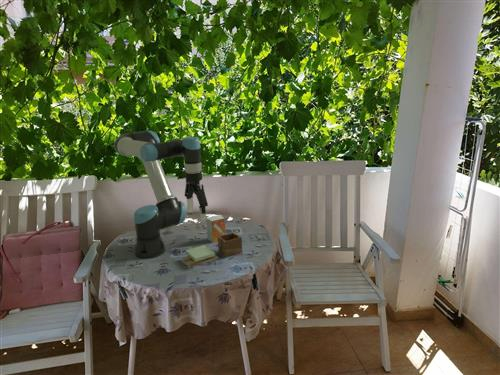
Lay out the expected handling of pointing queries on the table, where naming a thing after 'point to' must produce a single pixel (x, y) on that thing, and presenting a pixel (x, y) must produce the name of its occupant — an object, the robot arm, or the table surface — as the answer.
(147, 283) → the table surface
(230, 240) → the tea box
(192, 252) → the lid
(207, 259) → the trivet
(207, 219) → the small box
